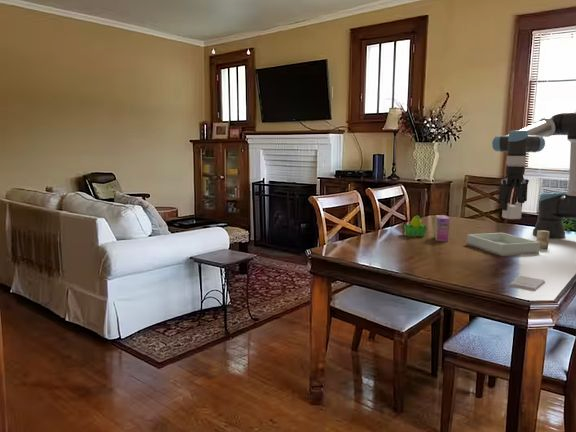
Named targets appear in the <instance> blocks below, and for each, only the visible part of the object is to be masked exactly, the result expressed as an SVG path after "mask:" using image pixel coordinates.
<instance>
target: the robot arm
mask: <svg viewBox="0 0 576 432" xmlns="http://www.w3.org/2000/svg"><path fill="white" fill-rule="evenodd" d="M551 136H566V137H567V140H568V141H569V142H570V153H569V154H570V155H569V175H568V176H569V179H568V182H569V183H568V190H567V191H566V192H562V191H560V192H546V193H545V192H544V193H541V194H540V195H539V199H538V211H537V220H536V223H535V226H534V228H533V229H532V235H533V236H536V237H537V231H538V230H544V231H549V239H561V238H562V239H564V238H566V231H565V227H564V222H563V220H564V219H569V220H576V110H569V111H561V112H557V113H554V114H551V115H548V116H546V117H543V118H541V119H540V120H538V122H536V123H533V124H531V125H528V126H526V127H523V128H521V129H519V130H517V129H515V130H510V131H509V133H508V134H506V135H497V136H495V137H494V138H493V139H492V141H491V145H492V146H491V147H492V149H493V150H494V151H495V152H500V153H507V156H506V165H507V166H506V168H505V175H506V176H505V178H504V179H500V180H499V183H500V189H499V195H498V202H500V203H502V208H501V209H502V210H503V217H504V218H503V217H502V218H503V219H508V218H509V206H510V205H511V204H510V203H509V200H510V199H511V198H510V197H511V194H512V191H513V190H515V196H516V197H515V198H516V201H517V202H515V204H514V205H516V206H522V207H523V204H525V202H527V200H528V186H529V182H530V179H526V178H524V175H525V171H526V168H525V165H526V158H527V153H539V152H541V151H543V149H544V148H545V146H546V140H545V138H546V137H547V138H548V137H551ZM544 137H545V138H544Z"/></svg>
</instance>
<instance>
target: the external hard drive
mask: <svg viewBox="0 0 576 432" xmlns="http://www.w3.org/2000/svg"><path fill="white" fill-rule="evenodd" d="M545 283H546V281H545V280H544V279H540V278H536V277H529V276H524V275H520V276H519V277H517V278H515V279H514V280H512V281H511V282H510V283H508V286H509V287H513V288H519V289H524V290H527V291H534V292H535V291H537V290H538V289H539V288H540V287H541V286H543V285H544V284H545Z"/></svg>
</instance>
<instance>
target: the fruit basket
mask: <svg viewBox="0 0 576 432" xmlns="http://www.w3.org/2000/svg"><path fill="white" fill-rule="evenodd" d="M410 220H411V221H410V224H403V227H404V230H405V231H404V233H405V235H406V237H416V236H420V238H424V237H425V235H426V231H427V230H428V227H427V226H426V225H423V224H422V220H421V218H420V216H419V215H415V216H413V217H412V219H410Z"/></svg>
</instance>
